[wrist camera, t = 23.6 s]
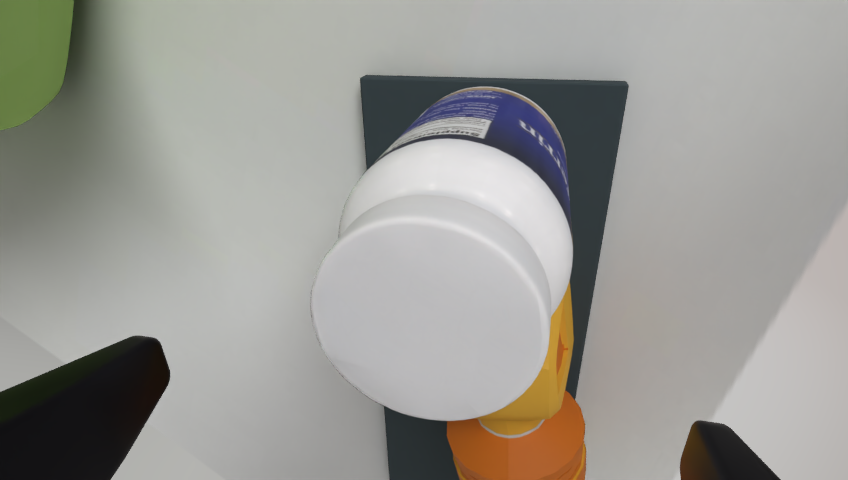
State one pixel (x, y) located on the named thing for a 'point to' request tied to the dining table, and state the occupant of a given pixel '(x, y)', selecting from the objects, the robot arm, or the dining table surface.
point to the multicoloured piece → (529, 423)
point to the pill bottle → (451, 260)
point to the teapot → (32, 56)
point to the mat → (589, 197)
